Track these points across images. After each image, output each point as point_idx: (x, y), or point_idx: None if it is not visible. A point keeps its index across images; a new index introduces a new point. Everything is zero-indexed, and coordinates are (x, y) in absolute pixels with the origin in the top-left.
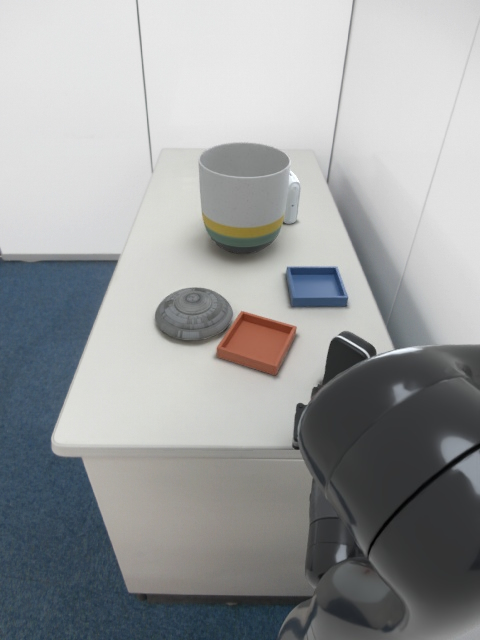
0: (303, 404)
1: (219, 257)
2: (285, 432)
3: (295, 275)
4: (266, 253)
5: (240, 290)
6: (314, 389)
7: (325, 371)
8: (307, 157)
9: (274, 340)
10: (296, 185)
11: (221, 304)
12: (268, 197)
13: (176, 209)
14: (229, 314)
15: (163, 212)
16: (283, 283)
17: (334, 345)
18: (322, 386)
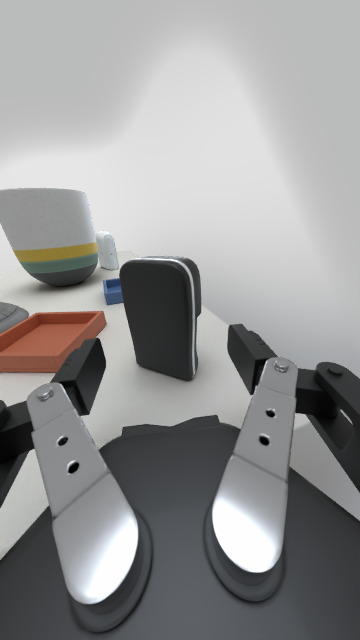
0: (2, 402)
1: (44, 291)
2: (45, 491)
3: (113, 287)
4: (90, 283)
5: (54, 305)
6: (74, 353)
7: (132, 338)
8: (129, 251)
9: (75, 332)
10: (109, 237)
11: (4, 308)
12: (64, 214)
13: (21, 277)
14: (17, 318)
15: (7, 280)
16: (101, 294)
17: (126, 277)
18: (95, 340)
